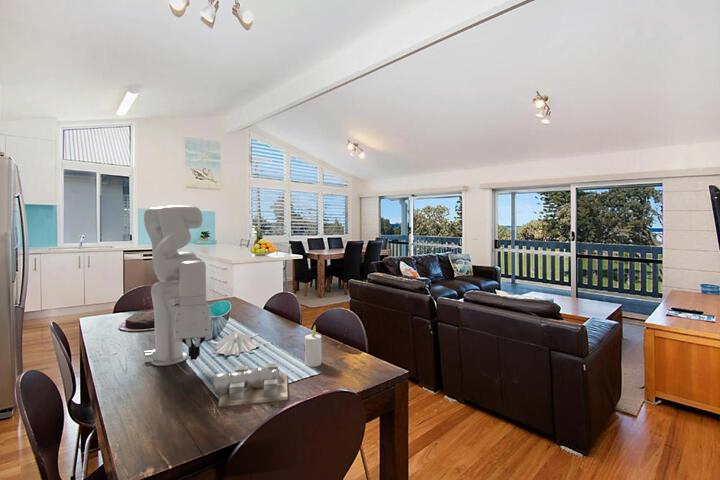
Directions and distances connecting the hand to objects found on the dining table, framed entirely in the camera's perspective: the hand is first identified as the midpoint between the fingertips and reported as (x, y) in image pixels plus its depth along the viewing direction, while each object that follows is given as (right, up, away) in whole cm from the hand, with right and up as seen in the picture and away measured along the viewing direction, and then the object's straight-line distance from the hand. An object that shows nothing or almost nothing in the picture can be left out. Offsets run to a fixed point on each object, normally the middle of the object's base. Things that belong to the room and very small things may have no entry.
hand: (194, 358), depth 113 cm
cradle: (+18, -12, +4) cm, 22 cm away
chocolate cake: (-59, -8, +79) cm, 99 cm away
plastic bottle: (+6, -8, -2) cm, 10 cm away
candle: (+34, -11, +26) cm, 44 cm away
